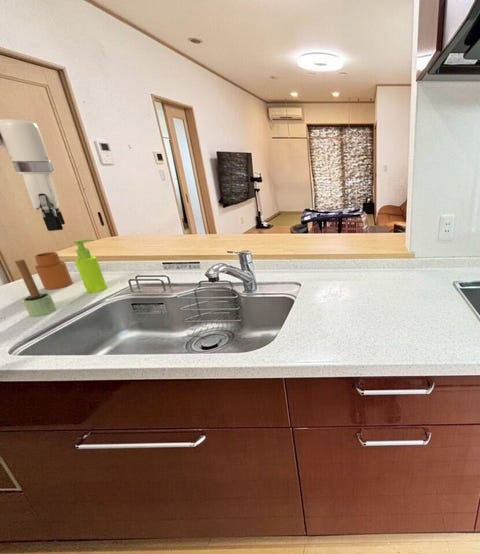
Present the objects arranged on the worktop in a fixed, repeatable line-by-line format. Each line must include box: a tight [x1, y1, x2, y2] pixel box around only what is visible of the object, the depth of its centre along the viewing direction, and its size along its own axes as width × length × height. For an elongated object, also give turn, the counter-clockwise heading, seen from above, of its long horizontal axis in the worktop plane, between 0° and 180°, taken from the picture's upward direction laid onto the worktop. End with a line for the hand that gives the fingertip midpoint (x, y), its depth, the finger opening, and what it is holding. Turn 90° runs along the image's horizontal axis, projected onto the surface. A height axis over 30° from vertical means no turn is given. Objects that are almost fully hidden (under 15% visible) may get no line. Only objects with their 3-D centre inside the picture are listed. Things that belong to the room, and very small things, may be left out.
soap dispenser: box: [73, 238, 108, 294], centre depth 110 cm, size 6×7×20 cm
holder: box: [21, 292, 58, 318], centre depth 96 cm, size 6×6×6 cm
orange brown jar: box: [34, 251, 74, 291], centre depth 115 cm, size 8×8×13 cm
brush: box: [14, 258, 45, 301], centre depth 93 cm, size 4×4×18 cm
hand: (57, 227), depth 91 cm, fingers open, 9 cm apart
